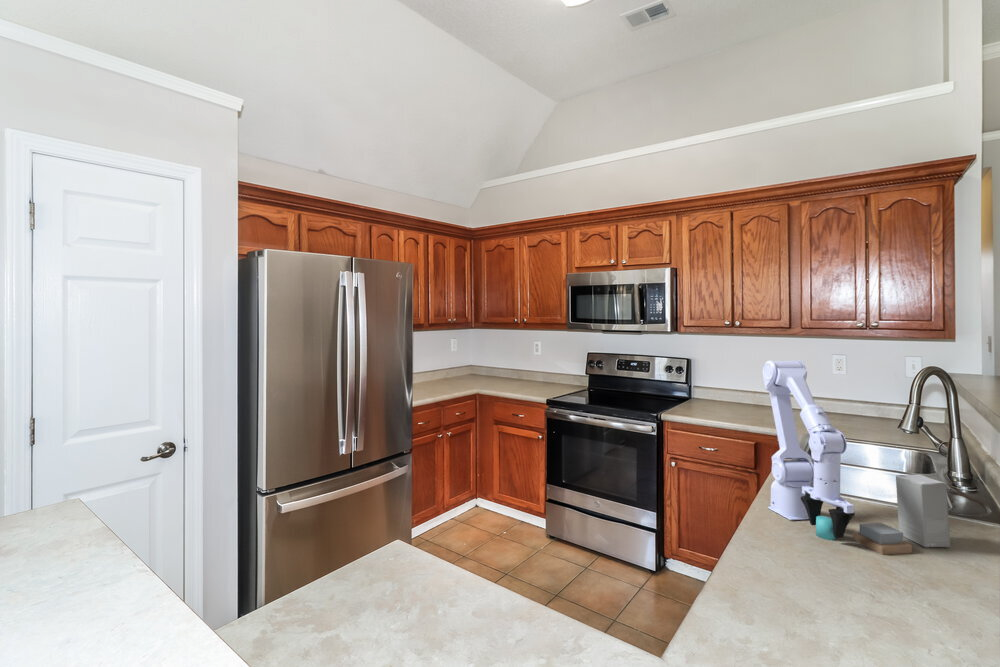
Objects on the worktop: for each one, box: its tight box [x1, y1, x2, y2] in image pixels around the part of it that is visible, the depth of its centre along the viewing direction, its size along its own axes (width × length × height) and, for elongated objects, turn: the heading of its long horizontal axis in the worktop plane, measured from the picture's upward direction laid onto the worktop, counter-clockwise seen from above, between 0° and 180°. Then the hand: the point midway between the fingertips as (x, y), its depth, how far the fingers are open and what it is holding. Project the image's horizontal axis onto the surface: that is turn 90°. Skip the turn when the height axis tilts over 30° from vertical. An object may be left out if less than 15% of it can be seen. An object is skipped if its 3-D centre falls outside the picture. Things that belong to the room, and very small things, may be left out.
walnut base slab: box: [852, 531, 913, 556], centre depth 121 cm, size 8×8×2 cm
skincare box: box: [895, 474, 951, 548], centre depth 124 cm, size 8×7×16 cm
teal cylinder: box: [815, 515, 838, 541], centre depth 127 cm, size 4×4×4 cm
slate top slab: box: [858, 522, 904, 545], centre depth 121 cm, size 6×6×2 cm
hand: (826, 530), depth 127 cm, fingers open, 7 cm apart
